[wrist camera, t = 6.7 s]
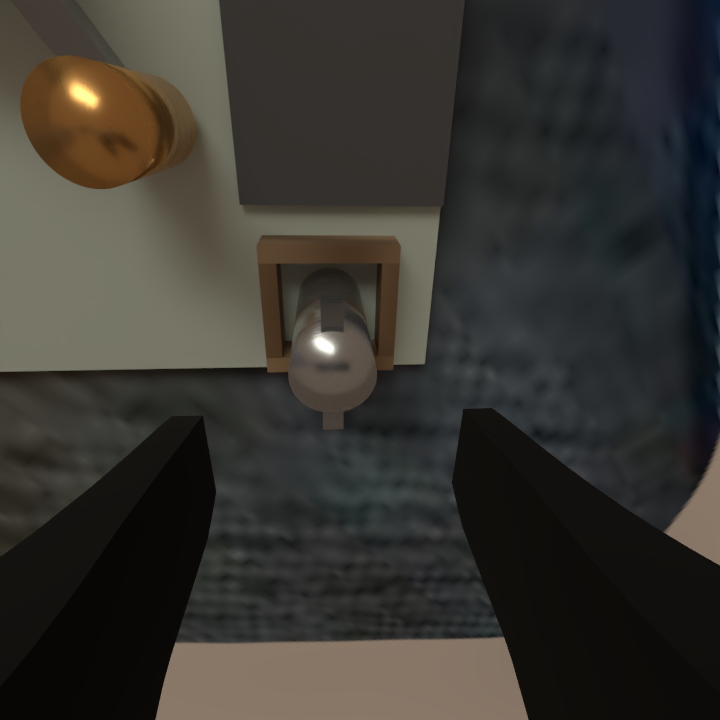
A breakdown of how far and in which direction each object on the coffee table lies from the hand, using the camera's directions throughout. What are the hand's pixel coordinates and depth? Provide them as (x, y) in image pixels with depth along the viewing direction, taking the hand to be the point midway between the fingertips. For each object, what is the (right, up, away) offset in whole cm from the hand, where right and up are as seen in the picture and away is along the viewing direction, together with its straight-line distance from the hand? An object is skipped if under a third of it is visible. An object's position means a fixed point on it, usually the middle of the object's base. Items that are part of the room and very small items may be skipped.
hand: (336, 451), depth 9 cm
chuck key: (-1, +4, +8) cm, 9 cm away
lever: (-7, +11, +3) cm, 13 cm away
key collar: (-1, +4, +8) cm, 9 cm away
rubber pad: (0, +10, +5) cm, 11 cm away
